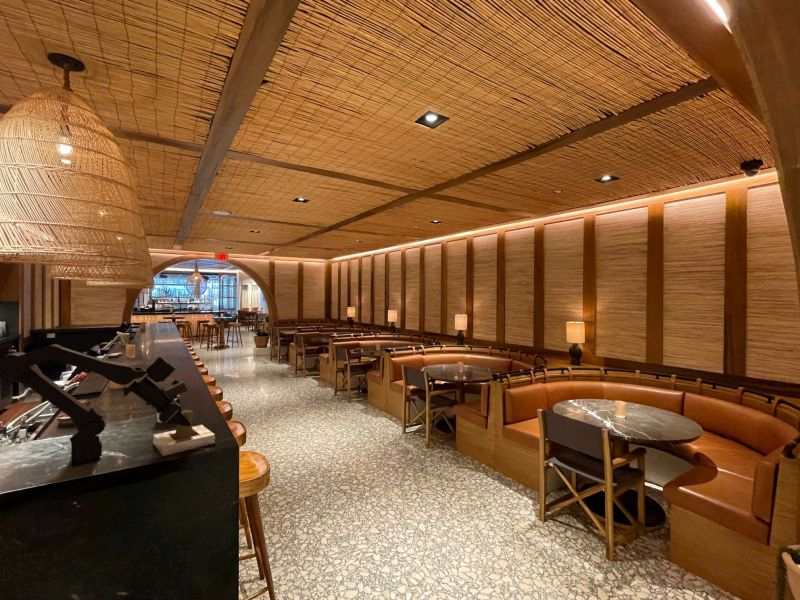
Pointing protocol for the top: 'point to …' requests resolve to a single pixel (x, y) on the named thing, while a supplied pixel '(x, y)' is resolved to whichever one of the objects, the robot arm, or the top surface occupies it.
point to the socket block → (182, 440)
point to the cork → (184, 430)
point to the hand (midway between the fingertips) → (189, 421)
